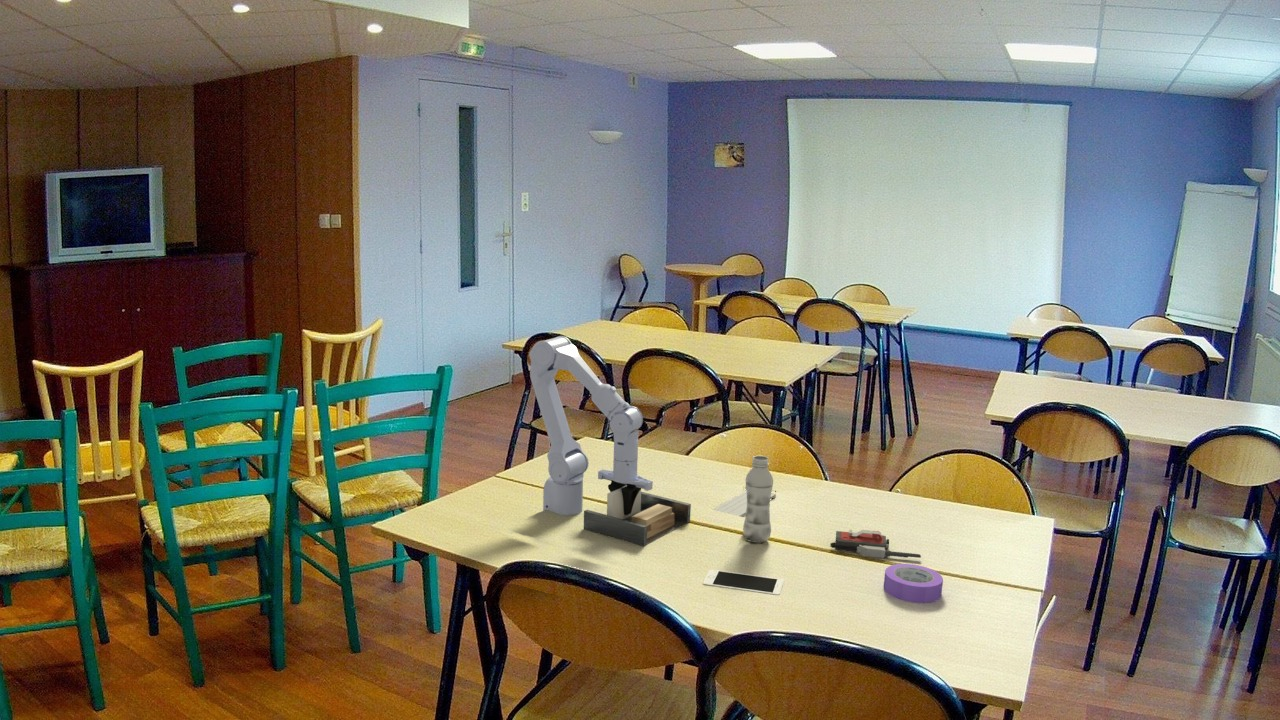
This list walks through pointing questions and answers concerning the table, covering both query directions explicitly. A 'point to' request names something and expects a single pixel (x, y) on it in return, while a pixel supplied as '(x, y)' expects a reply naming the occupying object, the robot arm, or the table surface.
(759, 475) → the plastic bottle
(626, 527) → the rack
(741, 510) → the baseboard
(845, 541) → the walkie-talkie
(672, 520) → the offcut stack
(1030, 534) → the table surface
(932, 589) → the masking tape
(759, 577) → the cell phone
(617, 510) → the white block
